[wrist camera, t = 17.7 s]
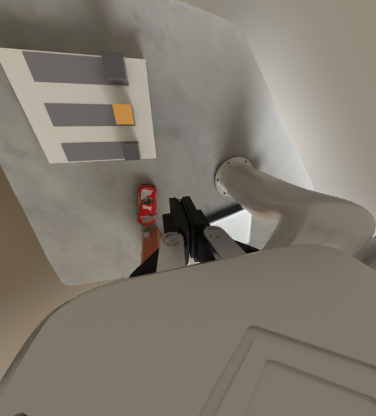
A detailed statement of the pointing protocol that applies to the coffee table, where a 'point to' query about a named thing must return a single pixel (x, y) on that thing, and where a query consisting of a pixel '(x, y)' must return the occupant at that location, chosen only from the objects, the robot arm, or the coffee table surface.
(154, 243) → the control panel
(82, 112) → the board
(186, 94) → the coffee table surface
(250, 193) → the robot arm
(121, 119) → the block
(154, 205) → the race car
